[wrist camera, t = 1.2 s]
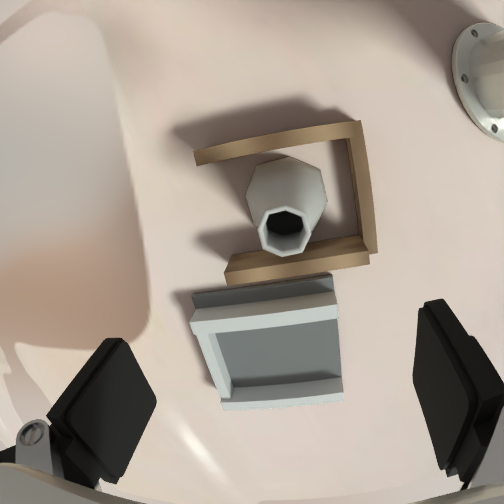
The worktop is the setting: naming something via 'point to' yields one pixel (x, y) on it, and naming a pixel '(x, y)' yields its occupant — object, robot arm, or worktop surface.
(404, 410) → the worktop surface
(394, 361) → the worktop surface
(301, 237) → the flask
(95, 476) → the robot arm
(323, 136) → the wooden u-shaped bracket
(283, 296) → the dock
